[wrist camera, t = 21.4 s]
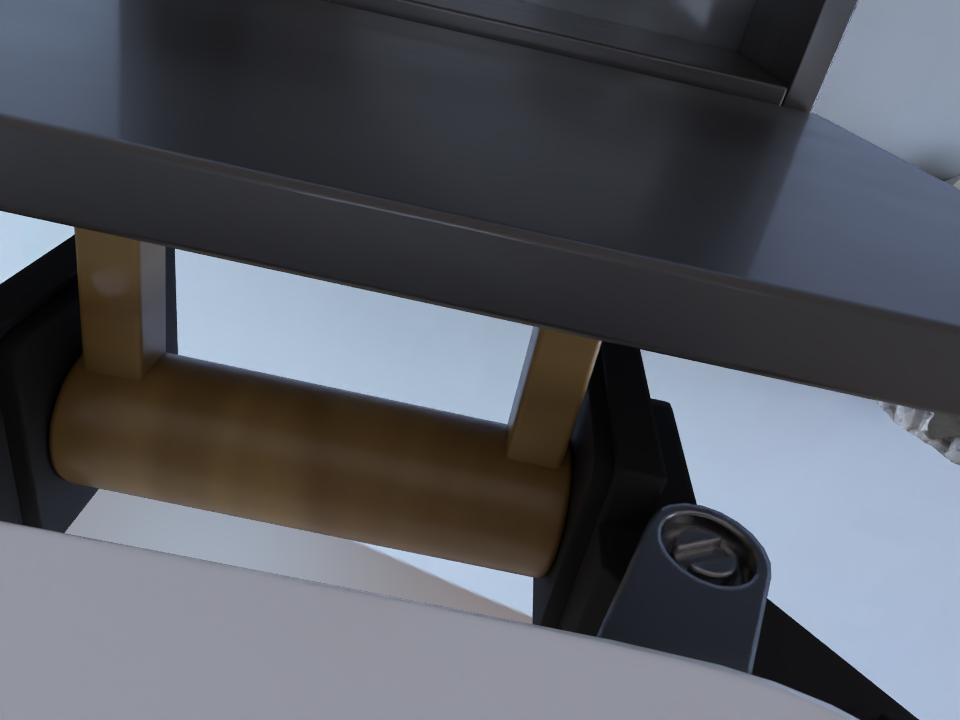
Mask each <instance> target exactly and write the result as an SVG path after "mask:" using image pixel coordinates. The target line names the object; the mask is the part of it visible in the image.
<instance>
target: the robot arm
mask: <svg viewBox="0 0 960 720" xmlns="http://www.w3.org/2000/svg"><path fill="white" fill-rule="evenodd" d="M165 293H166V353H171V354H176V355H178V342H177V309H176V276H175V248H170V247H166V246H165ZM82 354H83V351H82V335H81V320H80V305H79V289H78V274H77V258H76V243H75V235H73V236H72V237H70V238H69V239H67V240H66V241H64V242H63V243H61V244H60V245H58V246H57V247H55V248H54V249H52V250H51V251H49V252H48V253H46V254H45V255H43V256H42V257H40V258H39V259H37V260H36V261H34V262H33V263H31V264H30V265H28V266H27V267H25V268H24V269H22V270H21V271H19V272H18V273H16V274H15V275H13V276H12V277H10V278H9V279H7V280H6V281H4V282H3V283H1V284H0V720H919V719H917V718H916V717H915V716H914V715H912V714H911V713H910V712H909V711H907V710H906V709H905V708H904V707H902V706H901V705H900V704H899V703H897V702H896V701H895V700H894V699H892V698H891V697H890V696H889V695H887V694H886V693H885V692H884V691H882V690H881V689H880V688H879V687H877V686H876V685H875V684H874V683H872V682H871V681H870V680H869V679H867V678H866V677H865V676H864V675H862V674H861V673H860V672H859V671H857V670H856V669H855V668H854V667H852V666H851V665H850V664H849V663H847V662H846V661H845V660H844V659H842V658H841V657H840V656H839V655H837V654H836V653H835V652H834V651H832V650H831V649H830V648H829V647H827V646H826V645H825V644H824V643H822V642H821V641H820V640H819V639H817V638H816V637H815V636H814V635H812V634H811V633H810V632H809V631H807V630H806V629H805V628H804V627H802V626H801V625H800V624H799V623H797V622H796V621H795V620H794V619H792V618H791V617H790V616H789V615H787V614H786V613H785V612H784V611H782V610H781V609H780V608H779V607H777V606H776V605H775V604H774V603H772V602H771V601H770V600H769V599H767V595H768V590H769V585H770V580H771V563H770V561H769V558H768V556H767V554H766V552H765V549H764V548H763V546H762V545H761V544H760V543H759V541H758V540H757V539H756V538H755V537H754V535H753V534H752V533H751V532H749V531H748V530H747V529H746V528H744V527H743V526H742V525H741V524H740V523H738V522H737V521H735V520H733V519H732V518H730V517H728V516H726V515H724V514H723V513H721V512H719V511H716V510H713V509H710V508H707V507H704V506H700V505H697V504H696V500H695V496H694V492H693V488H692V484H691V480H690V476H689V472H688V469H687V465H686V461H685V457H684V453H683V449H682V445H681V441H680V437H679V433H678V430H677V426H676V422H675V418H674V414H673V410H672V407H671V405H670V403H668V402H666V401H661V400H656V399H651V398H650V393H649V389H648V384H647V380H646V375H645V370H644V366H643V361H642V357H641V352H640V349H637V348H632V347H628V346H623V345H619V344H614V343H609V342H605V341H602V343H601V346H600V349H599V352H598V356H597V359H596V362H595V365H594V368H593V371H592V374H591V377H590V381H589V384H588V387H587V390H586V393H585V396H584V399H583V402H582V406H581V409H580V412H579V415H578V418H577V421H576V424H575V427H574V431H573V434H572V437H571V440H570V443H571V447H572V455H573V474H572V486H571V494H570V501H569V507H568V513H567V518H566V523H565V528H564V532H563V536H562V539H561V543H560V546H559V549H558V552H557V555H556V558H555V560H554V562H553V564H552V566H551V568H550V570H549V572H548V573H547V574H546V575H545V576H544V577H540V578H534V577H533V624H528V623H523V622H518V621H513V620H508V619H502V618H498V617H493V616H488V615H483V614H478V613H472V612H468V611H463V610H458V609H453V608H448V607H443V606H438V605H432V604H427V603H422V602H417V601H412V600H407V599H402V598H397V597H392V596H387V595H382V594H377V593H371V592H366V591H361V590H356V589H351V588H345V587H340V586H334V585H330V584H325V583H320V582H315V581H309V580H304V579H299V578H294V577H289V576H283V575H278V574H273V573H267V572H263V571H257V570H252V569H247V568H242V567H237V566H232V565H226V564H221V563H216V562H211V561H206V560H201V559H196V558H190V557H185V556H179V555H175V554H170V553H164V552H159V551H154V550H149V549H143V548H138V547H133V546H128V545H122V544H117V543H112V542H107V541H102V540H96V539H91V538H86V537H81V536H75V535H70V534H65V531H66V530H67V529H68V527H69V526H70V525H71V524H72V522H73V521H74V520H75V519H76V517H77V516H78V515H79V513H80V512H81V511H82V510H83V508H84V507H85V506H86V505H87V503H88V502H89V501H90V499H91V498H92V497H93V496H94V494H95V493H96V492H97V491H98V489H99V488H95V487H90V486H85V485H80V484H75V483H70V482H68V481H66V480H65V479H63V478H62V477H61V476H59V475H58V474H57V472H56V471H55V469H54V467H53V465H52V462H51V458H50V451H49V433H50V424H51V419H52V414H53V410H54V406H55V403H56V400H57V397H58V394H59V392H60V389H61V387H62V384H63V382H64V380H65V378H66V376H67V375H68V373H69V371H70V369H71V368H72V366H73V365H74V364H75V362H76V361H77V360H78V358H79V357H80V356H81V355H82Z"/></svg>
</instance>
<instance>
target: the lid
mask: <svg viewBox="0 0 960 720" xmlns="http://www.w3.org/2000/svg"><path fill="white" fill-rule="evenodd" d="M0 211H4V212H9V213H13V214H18V215H22V216H27V217H32V218H36V219H41V220H46V221H50V222H55V223H59V224H64V225H69V226H73V227H75V243H76V258H77V274H78V289H79V305H80V320H81V335H82V351H83V354H82V355H81V356H80V357H79V358H78V360H77V361H76V362H75V364H74V365H73V366H72V368H71V369H70V371H69V373H68V375H67V376H66V378H65V380H64V382H63V384H62V387H61V389H60V392H59V394H58V397H57V400H56V403H55V406H54V410H53V414H52V419H51V424H50V433H49V451H50V458H51V462H52V465H53V467H54V469H55V471H56V472H57V474H58V475H59V476H61V477H62V478H63V479H65V480H66V481H68V482H70V483H75V484H80V485H85V486H90V487H95V488H99V489H104V490H109V491H114V492H119V493H124V494H129V495H134V496H139V497H144V498H148V499H153V500H158V501H163V502H168V503H173V504H178V505H183V506H187V507H192V508H197V509H202V510H207V511H212V512H217V513H222V514H227V515H231V516H236V517H242V518H246V519H251V520H256V521H261V522H266V523H270V524H275V525H280V526H285V527H290V528H295V529H300V530H305V531H310V532H314V533H320V534H324V535H329V536H334V537H339V538H344V539H349V540H354V541H358V542H363V543H368V544H373V545H378V546H383V547H388V548H393V549H398V550H402V551H407V552H412V553H417V554H422V555H427V556H432V557H437V558H442V559H446V560H451V561H456V562H461V563H466V564H471V565H476V566H481V567H486V568H490V569H495V570H500V571H505V572H510V573H515V574H520V575H525V576H530V577H534V578H540V577H544V576H545V575H546V574H547V573H548V572H549V570H550V568H551V566H552V564H553V562H554V560H555V558H556V555H557V552H558V549H559V546H560V543H561V539H562V536H563V532H564V528H565V523H566V518H567V513H568V507H569V501H570V494H571V486H572V474H573V455H572V447H571V443H570V440H571V437H572V434H573V431H574V427H575V424H576V421H577V418H578V415H579V412H580V409H581V406H582V402H583V399H584V396H585V393H586V390H587V387H588V384H589V381H590V377H591V374H592V371H593V368H594V365H595V362H596V359H597V356H598V352H599V349H600V346H601V343H602V341H605V342H609V343H614V344H619V345H623V346H628V347H632V348H637V349H642V350H646V351H651V352H656V353H660V354H665V355H669V356H674V357H679V358H683V359H688V360H692V361H697V362H702V363H706V364H711V365H716V366H720V367H725V368H729V369H734V370H739V371H743V372H748V373H753V374H757V375H762V376H766V377H771V378H776V379H780V380H785V381H790V382H794V383H799V384H803V385H808V386H813V387H817V388H822V389H826V390H831V391H836V392H840V393H845V394H850V395H854V396H859V397H863V398H868V399H873V400H877V401H882V402H887V403H891V404H896V405H900V406H905V407H910V408H914V409H919V410H924V411H928V412H933V413H937V414H942V415H947V416H951V417H956V418H960V190H959V189H957V188H955V187H953V186H952V185H950V184H948V183H946V182H944V181H942V180H940V179H938V178H936V177H934V176H933V175H931V174H929V173H927V172H925V171H923V170H921V169H919V168H917V167H916V166H914V165H912V164H910V163H908V162H906V161H904V160H902V159H900V158H898V157H897V156H895V155H893V154H891V153H889V152H887V151H885V150H883V149H881V148H879V147H878V146H876V145H874V144H872V143H870V142H868V141H866V140H864V139H862V138H861V137H859V136H857V135H855V134H853V133H851V132H849V131H847V130H845V129H843V128H842V127H840V126H838V125H836V124H834V123H832V122H830V121H828V120H826V119H824V118H823V117H821V116H819V115H817V114H814V113H810V112H805V111H801V110H797V109H792V108H788V107H783V106H779V105H775V104H770V103H766V102H762V101H757V100H753V99H749V98H744V97H740V96H736V95H731V94H727V93H722V92H718V91H714V90H709V89H705V88H701V87H696V86H692V85H688V84H683V83H679V82H675V81H670V80H666V79H661V78H657V77H653V76H648V75H644V74H640V73H635V72H631V71H627V70H622V69H618V68H613V67H609V66H605V65H600V64H596V63H592V62H587V61H583V60H579V59H574V58H570V57H566V56H561V55H557V54H552V53H548V52H544V51H539V50H535V49H531V48H526V47H522V46H518V45H513V44H509V43H505V42H500V41H496V40H491V39H487V38H483V37H478V36H474V35H470V34H465V33H461V32H457V31H452V30H448V29H444V28H439V27H435V26H430V25H426V24H422V23H417V22H413V21H409V20H404V19H400V18H396V17H391V16H387V15H383V14H378V13H374V12H369V11H365V10H361V9H356V8H352V7H348V6H343V5H339V4H335V3H330V2H326V1H322V0H0ZM165 246H166V247H170V248H175V249H180V250H184V251H189V252H193V253H198V254H203V255H207V256H212V257H217V258H221V259H226V260H230V261H235V262H240V263H244V264H249V265H254V266H258V267H263V268H267V269H272V270H277V271H281V272H286V273H290V274H295V275H300V276H304V277H309V278H314V279H318V280H323V281H327V282H332V283H337V284H341V285H346V286H351V287H355V288H360V289H364V290H369V291H374V292H378V293H383V294H388V295H392V296H397V297H401V298H406V299H411V300H415V301H420V302H424V303H429V304H434V305H438V306H443V307H448V308H452V309H457V310H461V311H466V312H471V313H475V314H480V315H485V316H489V317H494V318H498V319H503V320H508V321H512V322H517V323H522V324H526V325H531V326H534V327H533V331H532V335H531V338H530V342H529V346H528V350H527V353H526V357H525V361H524V365H523V368H522V372H521V376H520V380H519V383H518V387H517V391H516V395H515V398H514V402H513V406H512V410H511V413H510V417H509V421H508V424H502V423H497V422H493V421H488V420H483V419H478V418H474V417H469V416H464V415H460V414H455V413H450V412H445V411H441V410H436V409H431V408H426V407H422V406H417V405H412V404H408V403H403V402H398V401H393V400H389V399H384V398H379V397H374V396H370V395H365V394H360V393H356V392H351V391H346V390H341V389H337V388H332V387H327V386H322V385H318V384H313V383H308V382H303V381H299V380H294V379H289V378H285V377H280V376H275V375H270V374H266V373H261V372H256V371H251V370H247V369H242V368H237V367H233V366H228V365H223V364H218V363H214V362H209V361H204V360H199V359H195V358H190V357H185V356H181V355H176V354H171V353H166V293H165Z"/></svg>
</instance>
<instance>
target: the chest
mask: <svg viewBox="0 0 960 720" xmlns="http://www.w3.org/2000/svg"><path fill="white" fill-rule="evenodd" d="M322 1H326V2H330V3H335V4H339V5H343V6H348V7H352V8H356V9H361V10H365V11H369V12H374V13H378V14H383V15H387V16H391V17H396V18H400V19H404V20H409V21H413V22H417V23H422V24H426V25H430V26H435V27H439V28H444V29H448V30H452V31H457V32H461V33H465V34H470V35H474V36H478V37H483V38H487V39H491V40H496V41H500V42H505V43H509V44H513V45H518V46H522V47H526V48H531V49H535V50H539V51H544V52H548V53H552V54H557V55H561V56H566V57H570V58H574V59H579V60H583V61H587V62H592V63H596V64H600V65H605V66H609V67H613V68H618V69H622V70H627V71H631V72H635V73H640V74H644V75H648V76H653V77H657V78H661V79H666V80H670V81H675V82H679V83H683V84H688V85H692V86H696V87H701V88H705V89H709V90H714V91H718V92H722V93H727V94H731V95H736V96H740V97H744V98H749V99H753V100H757V101H762V102H766V103H770V104H775V105H779V106H783V107H788V108H792V109H797V110H801V111H805V112H810V113H811V111H812V109H813V106H814V104H815V102H816V99H817V97H818V95H819V92H820V90H821V88H822V85H823V83H824V81H825V78H826V76H827V74H828V71H829V69H830V66H831V64H832V62H833V59H834V57H835V55H836V52H837V50H838V48H839V45H840V43H841V41H842V38H843V36H844V34H845V31H846V29H847V27H848V24H849V22H850V20H851V17H852V15H853V13H854V10H855V8H856V5H857V3H858V1H859V0H322Z"/></svg>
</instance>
